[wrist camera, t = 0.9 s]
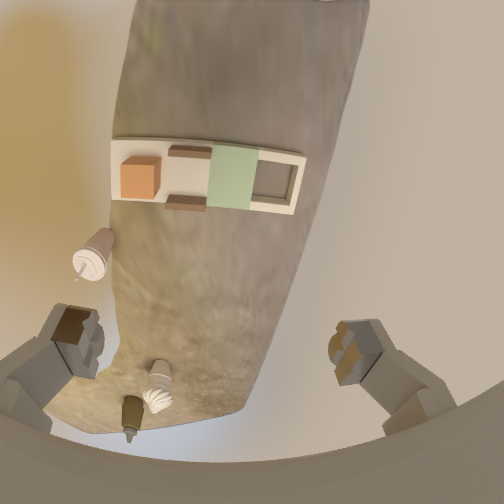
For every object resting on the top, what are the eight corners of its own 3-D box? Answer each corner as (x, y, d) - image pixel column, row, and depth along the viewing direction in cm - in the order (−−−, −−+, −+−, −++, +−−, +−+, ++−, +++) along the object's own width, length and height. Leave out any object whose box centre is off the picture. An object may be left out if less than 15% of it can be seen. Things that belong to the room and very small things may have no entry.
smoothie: (105, 215, 45) (74, 257, 33) (127, 239, 48) (104, 286, 36) (86, 234, 46) (55, 278, 35) (108, 256, 50) (83, 303, 38)
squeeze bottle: (135, 393, 79) (129, 438, 64) (149, 403, 83) (145, 446, 68) (119, 395, 80) (112, 438, 65) (133, 404, 84) (128, 446, 69)
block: (130, 155, 37) (120, 164, 33) (161, 157, 38) (154, 165, 34) (130, 186, 40) (120, 197, 36) (160, 187, 41) (153, 199, 36)
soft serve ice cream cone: (168, 353, 67) (163, 405, 54) (181, 369, 72) (178, 418, 58) (142, 357, 68) (134, 407, 54) (156, 372, 72) (151, 420, 59)
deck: (117, 137, 38) (102, 144, 32) (301, 153, 43) (313, 163, 38) (117, 193, 43) (104, 208, 38) (289, 207, 48) (298, 224, 43)
